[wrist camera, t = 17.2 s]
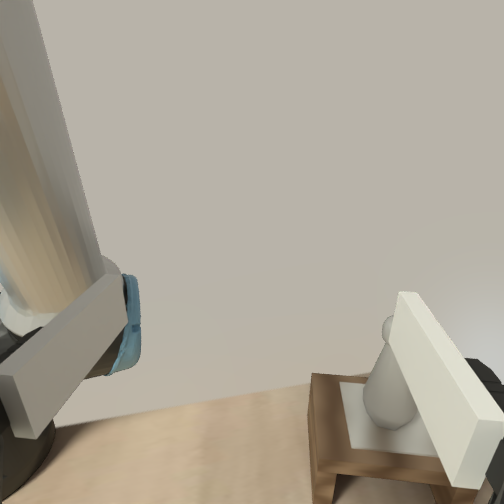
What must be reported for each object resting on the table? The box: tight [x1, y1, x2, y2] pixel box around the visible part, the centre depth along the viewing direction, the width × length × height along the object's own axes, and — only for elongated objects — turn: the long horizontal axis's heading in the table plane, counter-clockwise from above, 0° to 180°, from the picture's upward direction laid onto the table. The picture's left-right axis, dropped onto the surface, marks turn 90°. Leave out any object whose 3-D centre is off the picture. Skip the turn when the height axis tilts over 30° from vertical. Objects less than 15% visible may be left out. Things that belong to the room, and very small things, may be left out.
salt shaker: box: [363, 315, 418, 431], centre depth 35 cm, size 6×6×13 cm
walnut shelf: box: [307, 373, 478, 504], centre depth 39 cm, size 16×12×8 cm
